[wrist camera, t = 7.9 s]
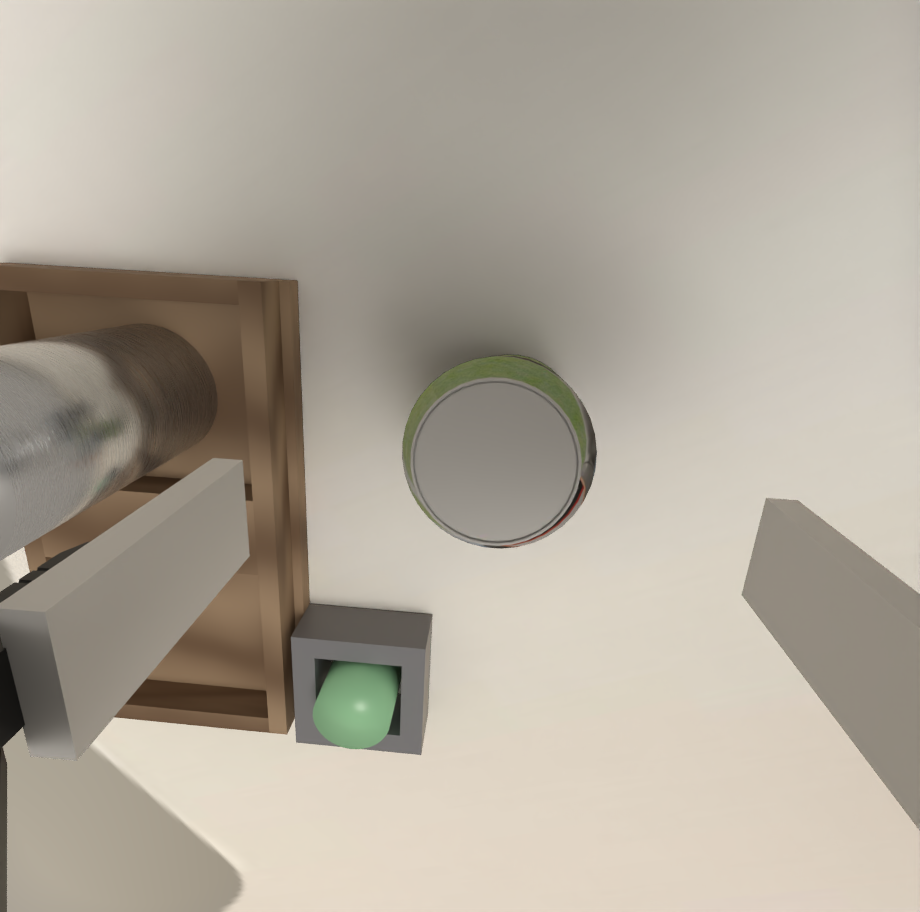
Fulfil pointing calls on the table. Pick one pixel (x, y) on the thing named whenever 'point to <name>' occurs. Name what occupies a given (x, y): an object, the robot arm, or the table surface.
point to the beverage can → (499, 451)
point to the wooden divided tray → (231, 437)
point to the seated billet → (92, 420)
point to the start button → (357, 703)
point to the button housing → (365, 642)
